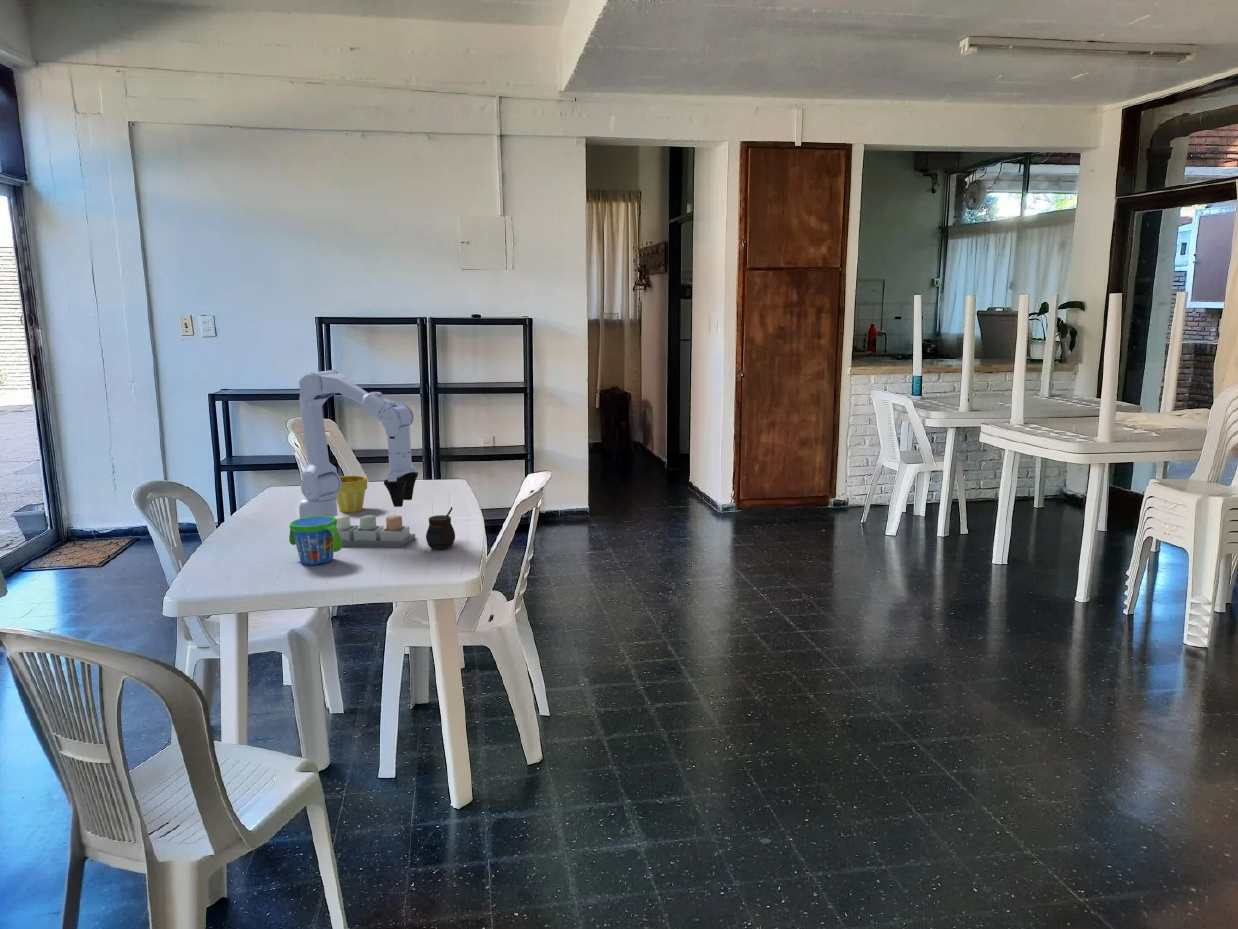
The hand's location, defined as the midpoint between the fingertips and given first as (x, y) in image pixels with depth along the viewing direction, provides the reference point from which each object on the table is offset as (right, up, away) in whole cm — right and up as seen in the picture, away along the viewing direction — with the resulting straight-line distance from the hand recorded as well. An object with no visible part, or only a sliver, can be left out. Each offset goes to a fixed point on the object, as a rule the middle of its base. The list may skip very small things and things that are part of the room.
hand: (402, 503), depth 219 cm
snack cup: (-16, -14, -17) cm, 27 cm away
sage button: (-8, -7, -2) cm, 11 cm away
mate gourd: (+12, -11, -7) cm, 18 cm away
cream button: (-15, -7, -1) cm, 17 cm away
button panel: (-8, -10, -1) cm, 13 cm away
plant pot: (-25, -4, +35) cm, 43 cm away
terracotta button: (-1, -7, -3) cm, 8 cm away
